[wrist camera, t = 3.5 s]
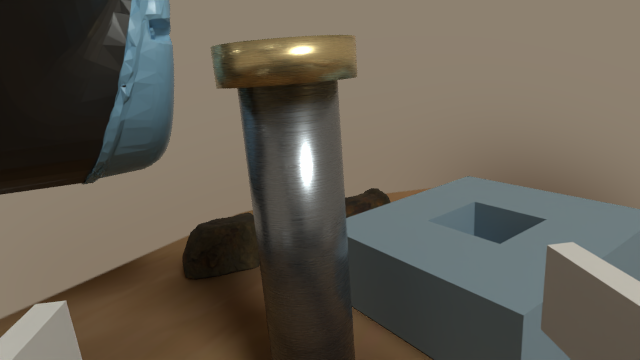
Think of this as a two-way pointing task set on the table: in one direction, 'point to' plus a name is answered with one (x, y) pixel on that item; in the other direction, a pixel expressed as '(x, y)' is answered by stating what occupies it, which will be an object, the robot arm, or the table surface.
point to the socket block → (477, 264)
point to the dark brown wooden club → (245, 240)
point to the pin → (297, 185)
